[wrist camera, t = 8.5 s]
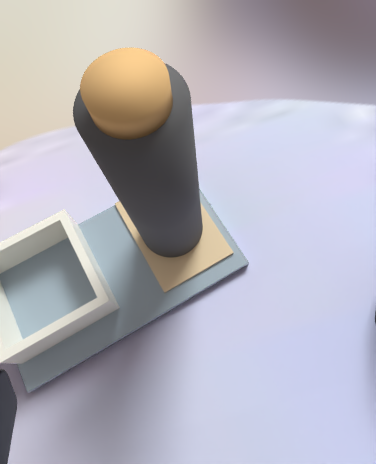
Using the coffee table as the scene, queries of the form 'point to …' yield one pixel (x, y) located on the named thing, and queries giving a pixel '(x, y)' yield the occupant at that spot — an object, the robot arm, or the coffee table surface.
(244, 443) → the coffee table surface
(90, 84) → the grey and orange cylinder
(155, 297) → the board
